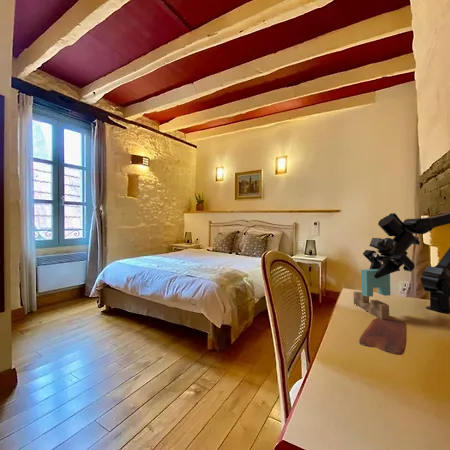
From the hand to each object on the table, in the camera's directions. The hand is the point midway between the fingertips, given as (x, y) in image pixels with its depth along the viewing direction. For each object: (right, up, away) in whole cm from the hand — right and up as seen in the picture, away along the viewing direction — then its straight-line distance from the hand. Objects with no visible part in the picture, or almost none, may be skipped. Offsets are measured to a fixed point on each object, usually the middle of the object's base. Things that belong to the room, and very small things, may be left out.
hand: (371, 276), depth 90 cm
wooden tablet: (-5, -14, -15) cm, 22 cm away
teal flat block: (+1, -7, 0) cm, 7 cm away
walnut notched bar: (+1, -14, +3) cm, 14 cm away
